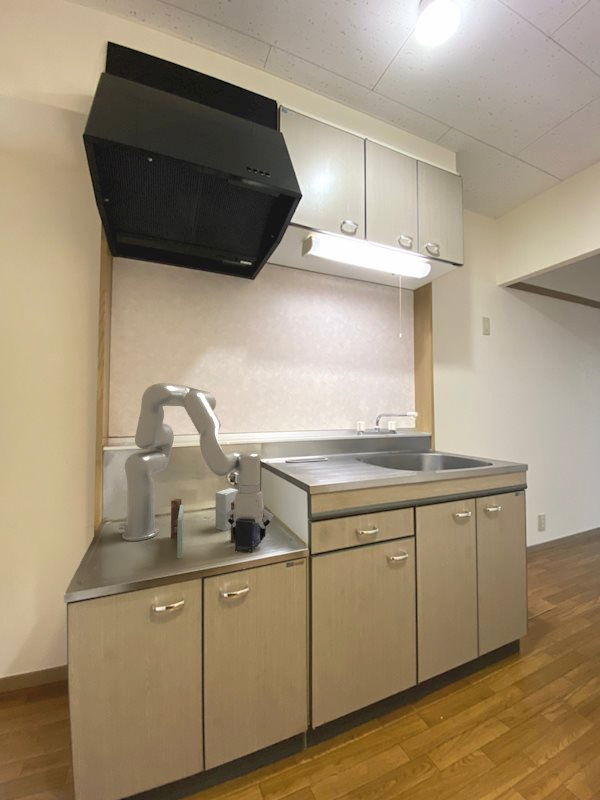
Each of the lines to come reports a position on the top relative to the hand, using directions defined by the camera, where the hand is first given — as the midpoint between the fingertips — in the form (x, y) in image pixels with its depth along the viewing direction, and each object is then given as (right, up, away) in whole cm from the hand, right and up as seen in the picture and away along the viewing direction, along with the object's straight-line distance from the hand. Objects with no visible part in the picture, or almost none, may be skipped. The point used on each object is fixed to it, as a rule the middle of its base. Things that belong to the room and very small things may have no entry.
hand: (249, 538), depth 115 cm
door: (-24, -2, -1) cm, 24 cm away
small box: (0, -3, 0) cm, 3 cm away
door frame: (-17, -3, +6) cm, 19 cm away
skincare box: (-12, -4, +19) cm, 22 cm away
